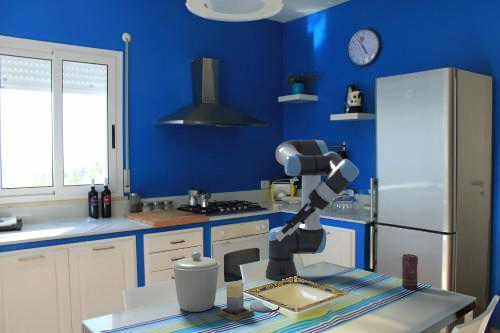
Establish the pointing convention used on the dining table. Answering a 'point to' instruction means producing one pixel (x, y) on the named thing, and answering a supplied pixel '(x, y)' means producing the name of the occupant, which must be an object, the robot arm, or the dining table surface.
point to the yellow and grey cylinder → (235, 298)
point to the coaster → (259, 307)
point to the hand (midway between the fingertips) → (282, 235)
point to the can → (409, 271)
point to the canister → (196, 282)
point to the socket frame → (245, 314)
